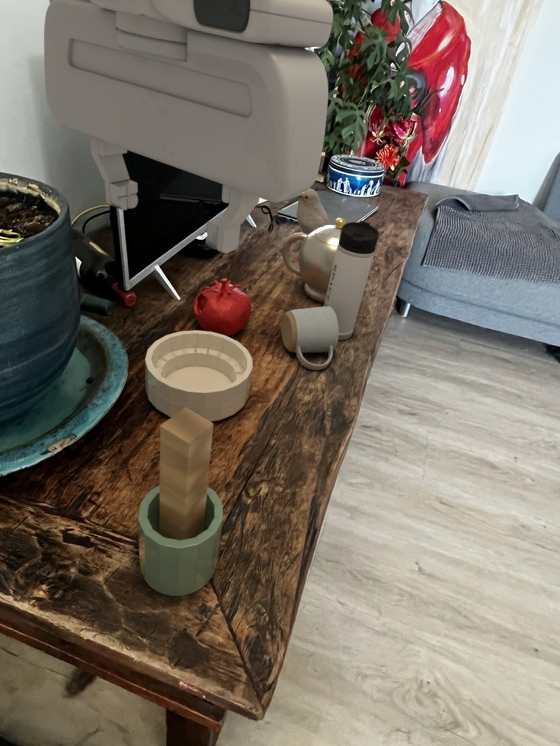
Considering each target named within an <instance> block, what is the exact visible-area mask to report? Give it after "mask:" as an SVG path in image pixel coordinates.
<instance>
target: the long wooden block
mask: <svg viewBox="0 0 560 746" xmlns="http://www.w3.org/2000/svg"><path fill="white" fill-rule="evenodd" d="M213 435H214V423H213V421H208V420H206V419H205V418H203V417H201V416H200V415H198V414H196V413H194V412H193V411H191V410H189V409H187V408H186V407H185V408H184V409H182V410H181V411H180V412H178V413H177V414H176V415H174V416H173V417H170V418H169V419H167V420H165V422H163V423H162V424H160V425H159V485H160V517H159V534H160V535H161V536H163V537H165V538H170V539H175V540H185V539H190V538H195V537H197V536H198V535H200V534H201V533H203V531H204V520H205V509H206V499H207V488H208V487H209V476H210V466H211V465H210V464H211V455H212V444H213Z"/></svg>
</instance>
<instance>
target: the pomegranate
mask: <svg viewBox="0 0 560 746" xmlns="http://www.w3.org/2000/svg"><path fill="white" fill-rule="evenodd" d="M211 280H212V281H214V283H215V285H212V286H209V285H208V286H207V285H206V286H204V287H201V288H200V290H202V291H201V292H199V293H198V294H197V295H196V297H195V299H194V301H193V313H194V317H195V319H196V321H197V323H198V325H199V326H200V327H201V328H202V329H203V331H208V332H214V333H218V334H221V335H225V336H227V337H229V336H234V335H236V334H237V333H238V332H239V331H241V330H242V329H244V328H245V327H246V325H247V323H248V321H249V319H250V317H251V314H252V300H251V299H250V297H249V296H248V295H247V294H246V293H245V292H244V291H243V290H241V289H240V288H243V289H245V287H244V286H243V285H241V284H234V285H233V284H232V283H231V280H228V278H222V279H220V282H219V281H218V280H216V279H213V278H211Z"/></svg>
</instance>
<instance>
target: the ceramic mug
mask: <svg viewBox="0 0 560 746" xmlns="http://www.w3.org/2000/svg"><path fill="white" fill-rule="evenodd" d="M280 327H281V328H280V329H281V330H280V331H281V339H282V343H283V345H284V348H285V349H286V350H287V351H288V352H290V353H296V357H297V359H298V361H299V362H300V364H301V365H302V366H304V367H305V368H306V369H308V370H312V371H320V370H324V369H326V368H327V367H328V366H329V364H330V363H331V361H332V359H333V354H334V353H333V352H334V351H335V350H336V348H337V345H338V343H339V340H338V337H339V326H338V320H337V316H336V314H335V312H334V310H333V309H332V308H331V307H329V306H325V307H324V306H318V307H307V308H298V309H297V308H296V309H291V310H288V311H286V312H285V313H284V315H283V316H282V318H281V326H280ZM303 353H328V357H327V360H326V361H325V362H324V363H321V364H316V363H312V362H310V361H308V360H307V359H306V358H305V357H304V356H303Z"/></svg>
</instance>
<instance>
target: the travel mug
mask: <svg viewBox="0 0 560 746" xmlns="http://www.w3.org/2000/svg"><path fill="white" fill-rule="evenodd" d="M379 237H380V232H379V231H378V228H376V227H374V226H372V225H371V223H370V222H368V221H364V220H359V222H358V221H351V222H346V224H345V225H343V226H342V230H341V234H340V239H339V242H338V247H337V250H336V255H335V259H334V264H333V268H332V272H331V277H330V281H329V285H328V290H327V294H326V299H325V303H323V307H325V306H329V307H331V308H332V309H333V310H334V312H335V314H336V316H337V320H338V326H339V337H338V341H345V340H348V339H350V338H351V337H352V335H353V332H354V328H355V325H356V322H357V318H358V314H359V310H360V307H361V303H362V299H363V296H364V293H365V289H366V285H367V281H368V278H369V274H370V271H371V267H372V264H373V260H374V256H375V253H376V246H377V244H378V240H379Z"/></svg>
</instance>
